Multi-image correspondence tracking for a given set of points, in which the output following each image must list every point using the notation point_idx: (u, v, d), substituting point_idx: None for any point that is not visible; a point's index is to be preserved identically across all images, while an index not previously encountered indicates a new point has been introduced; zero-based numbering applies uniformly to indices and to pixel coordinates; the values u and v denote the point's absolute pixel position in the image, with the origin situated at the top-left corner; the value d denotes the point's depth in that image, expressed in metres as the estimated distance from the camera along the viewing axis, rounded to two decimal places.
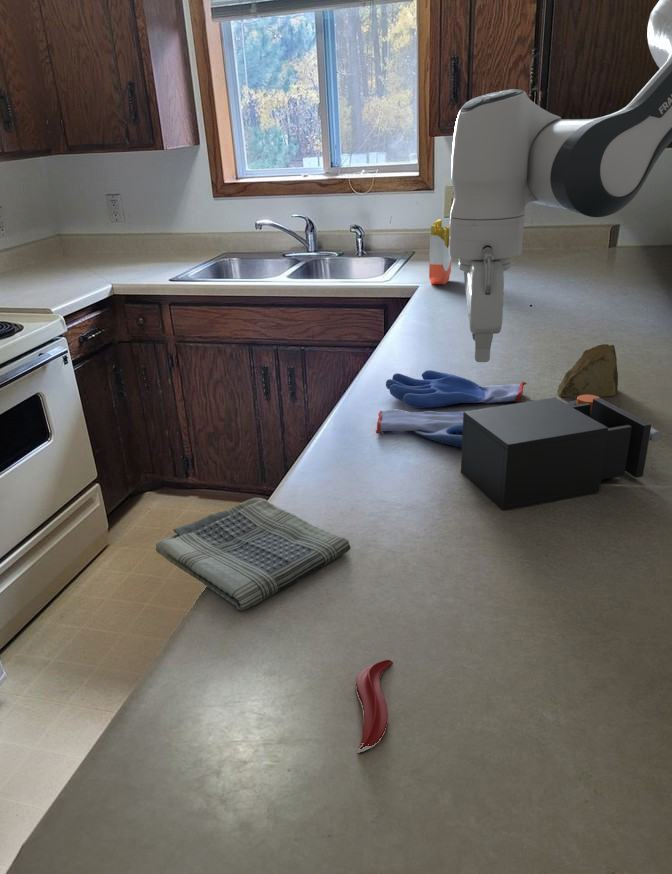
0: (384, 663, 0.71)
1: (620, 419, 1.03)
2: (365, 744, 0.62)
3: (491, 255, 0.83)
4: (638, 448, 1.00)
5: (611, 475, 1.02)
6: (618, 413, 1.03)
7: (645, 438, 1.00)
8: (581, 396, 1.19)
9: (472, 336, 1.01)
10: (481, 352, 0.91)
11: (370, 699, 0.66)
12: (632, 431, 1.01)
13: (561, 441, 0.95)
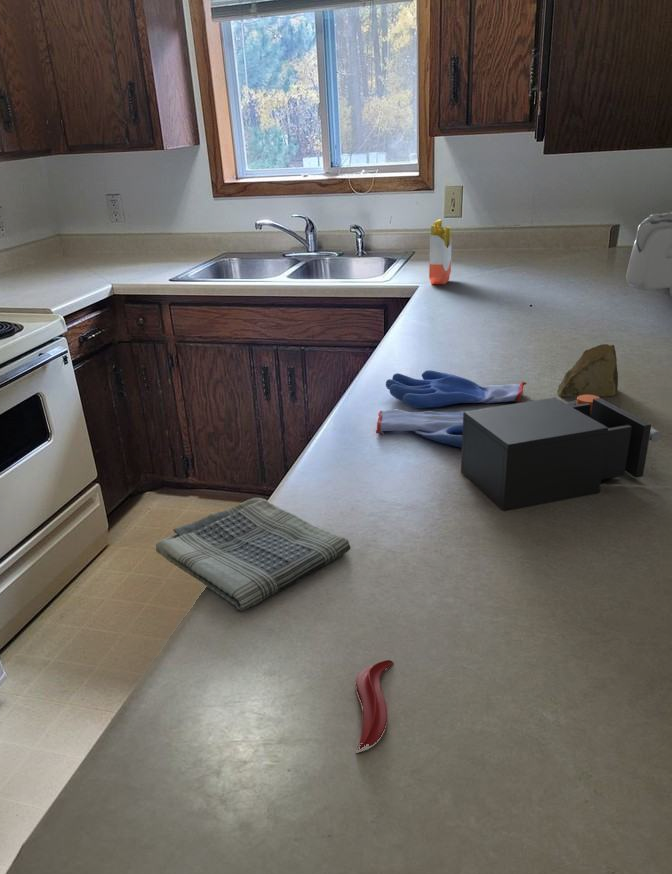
0: (384, 664, 0.71)
1: (620, 419, 1.03)
2: (364, 744, 0.62)
3: (651, 216, 0.92)
4: (638, 448, 1.00)
5: (611, 475, 1.02)
6: (618, 413, 1.03)
7: (645, 438, 1.00)
8: (581, 396, 1.19)
9: None
10: None
11: (370, 699, 0.66)
12: (632, 431, 1.01)
13: (561, 441, 0.95)
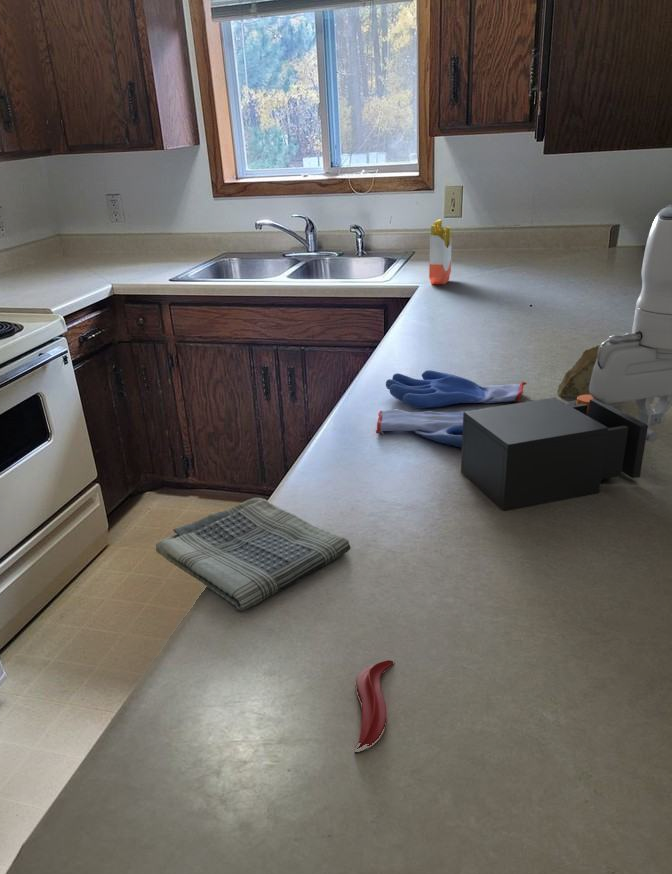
0: (385, 664, 0.71)
1: (617, 420, 1.03)
2: (362, 744, 0.62)
3: (611, 338, 0.98)
4: (635, 449, 1.00)
5: (608, 476, 1.01)
6: (615, 414, 1.03)
7: (642, 438, 0.99)
8: (581, 396, 1.19)
9: None
10: (643, 416, 1.05)
11: (369, 699, 0.66)
12: (629, 432, 1.01)
13: (561, 441, 0.95)
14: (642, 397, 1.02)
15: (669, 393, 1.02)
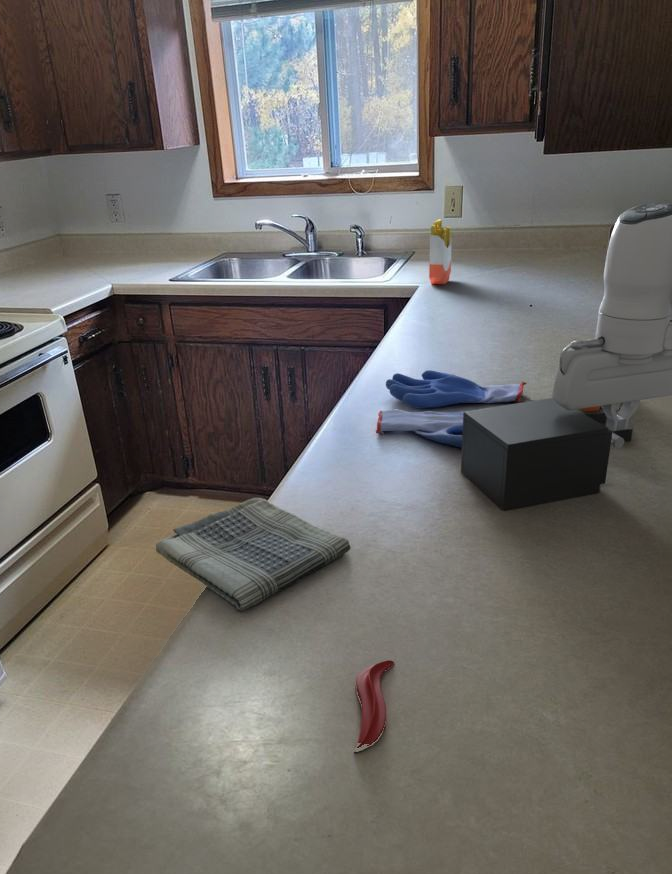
0: (385, 664, 0.71)
1: None
2: (362, 744, 0.62)
3: (573, 343, 0.97)
4: None
5: None
6: None
7: (607, 444, 0.98)
8: None
9: None
10: (609, 421, 1.04)
11: (369, 699, 0.66)
12: None
13: (561, 441, 0.95)
14: (606, 403, 1.00)
15: (633, 399, 1.01)
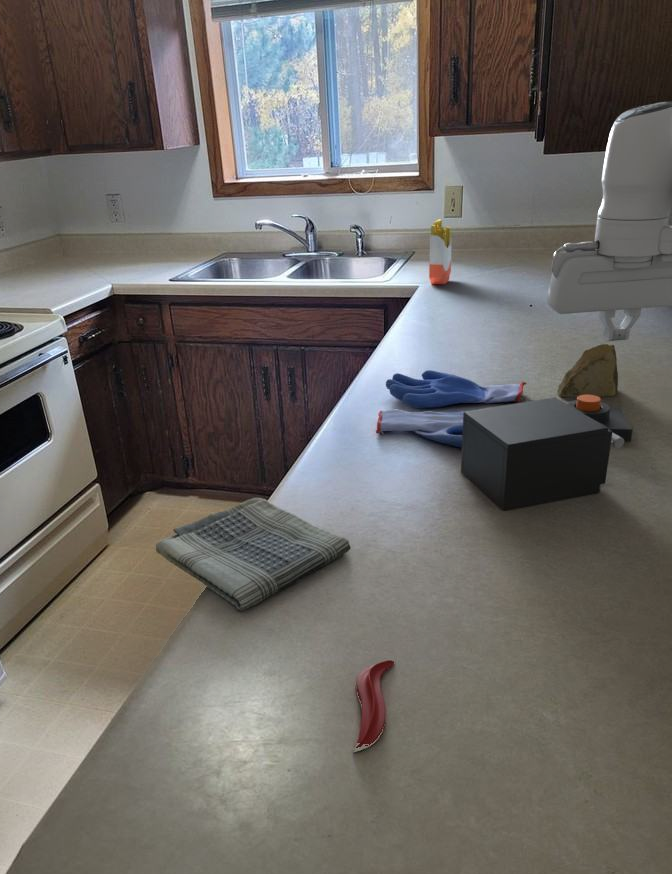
0: (386, 664, 0.71)
1: None
2: (361, 743, 0.62)
3: (565, 245, 0.98)
4: None
5: None
6: None
7: (607, 444, 0.98)
8: (581, 396, 1.19)
9: None
10: (606, 331, 1.05)
11: (369, 699, 0.66)
12: None
13: (561, 441, 0.95)
14: (600, 309, 1.01)
15: (631, 306, 1.01)
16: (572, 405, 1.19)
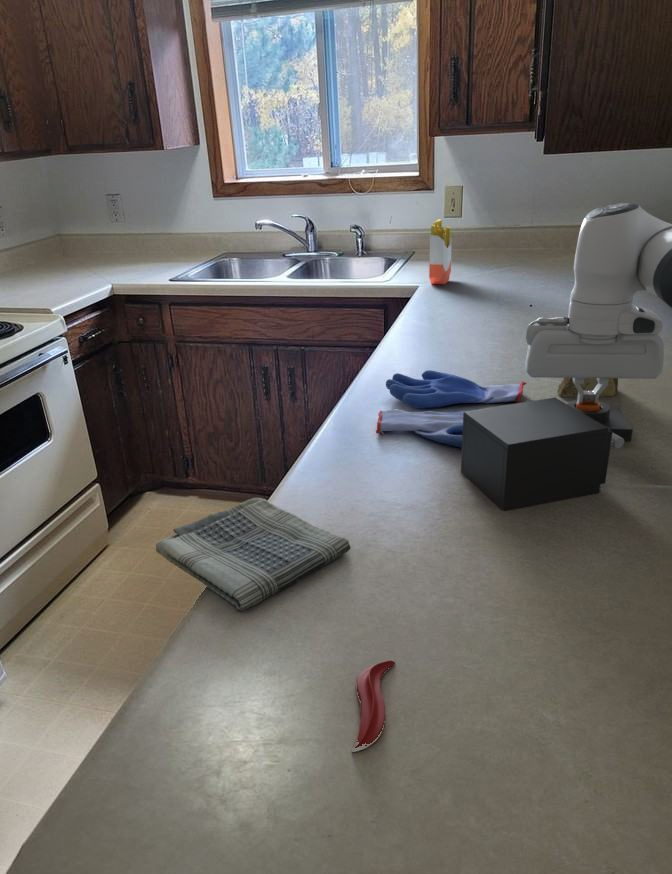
0: (386, 664, 0.71)
1: None
2: (360, 744, 0.62)
3: (538, 319, 1.14)
4: None
5: None
6: None
7: (607, 444, 0.98)
8: None
9: None
10: (578, 395, 1.18)
11: (369, 699, 0.66)
12: None
13: (561, 441, 0.95)
14: (568, 376, 1.15)
15: (597, 376, 1.14)
16: (572, 405, 1.19)
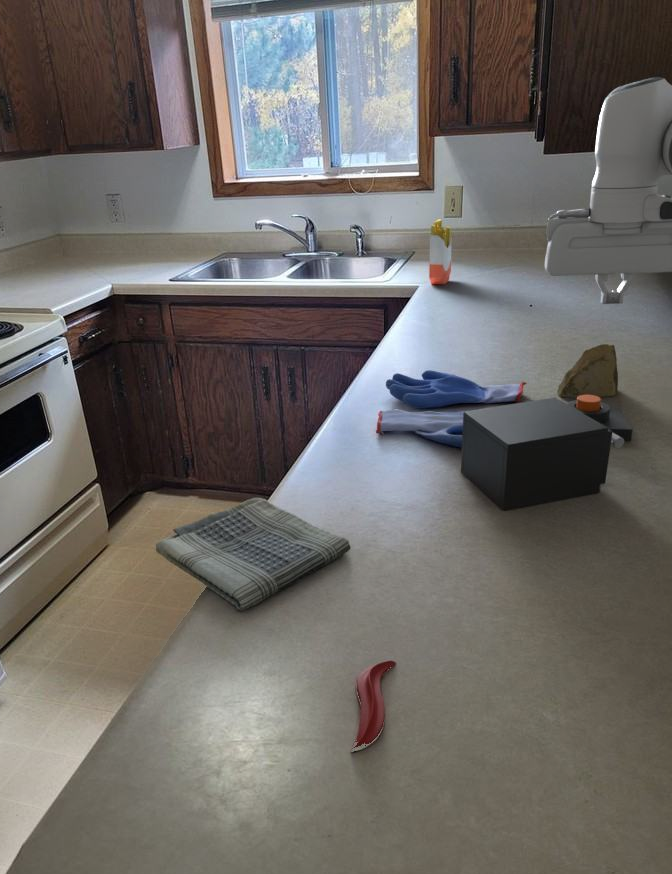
0: (387, 664, 0.71)
1: None
2: (359, 743, 0.62)
3: (558, 212, 1.08)
4: None
5: None
6: None
7: (607, 444, 0.98)
8: (581, 396, 1.19)
9: None
10: (601, 294, 1.12)
11: (368, 699, 0.66)
12: None
13: (561, 441, 0.95)
14: (591, 272, 1.09)
15: (622, 271, 1.08)
16: (572, 405, 1.19)
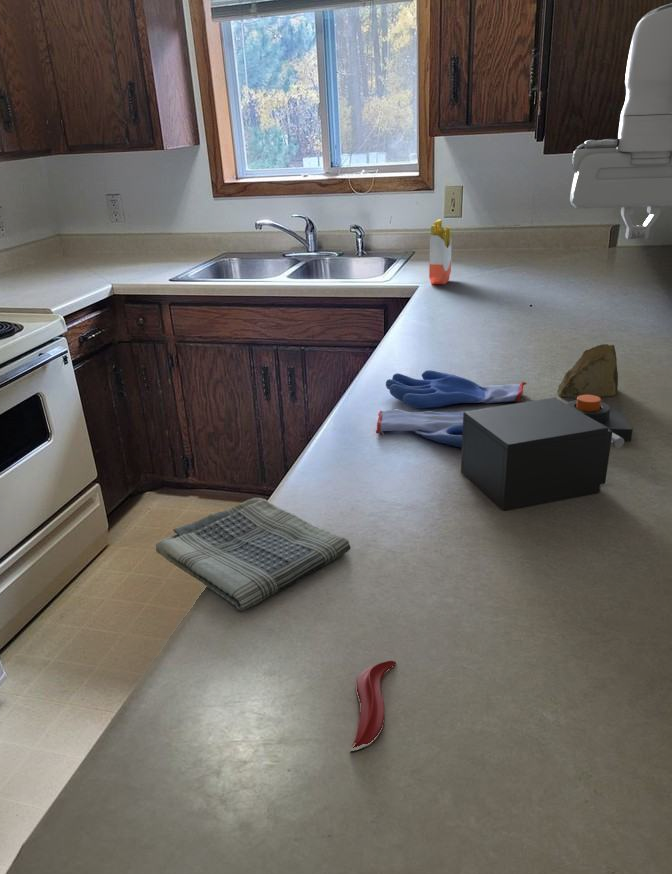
0: (387, 664, 0.71)
1: None
2: (358, 743, 0.62)
3: (585, 142, 1.06)
4: None
5: None
6: None
7: (607, 444, 0.98)
8: (581, 396, 1.19)
9: None
10: (627, 229, 1.11)
11: (368, 699, 0.66)
12: None
13: (561, 441, 0.95)
14: (617, 205, 1.08)
15: (649, 204, 1.07)
16: (572, 405, 1.19)
